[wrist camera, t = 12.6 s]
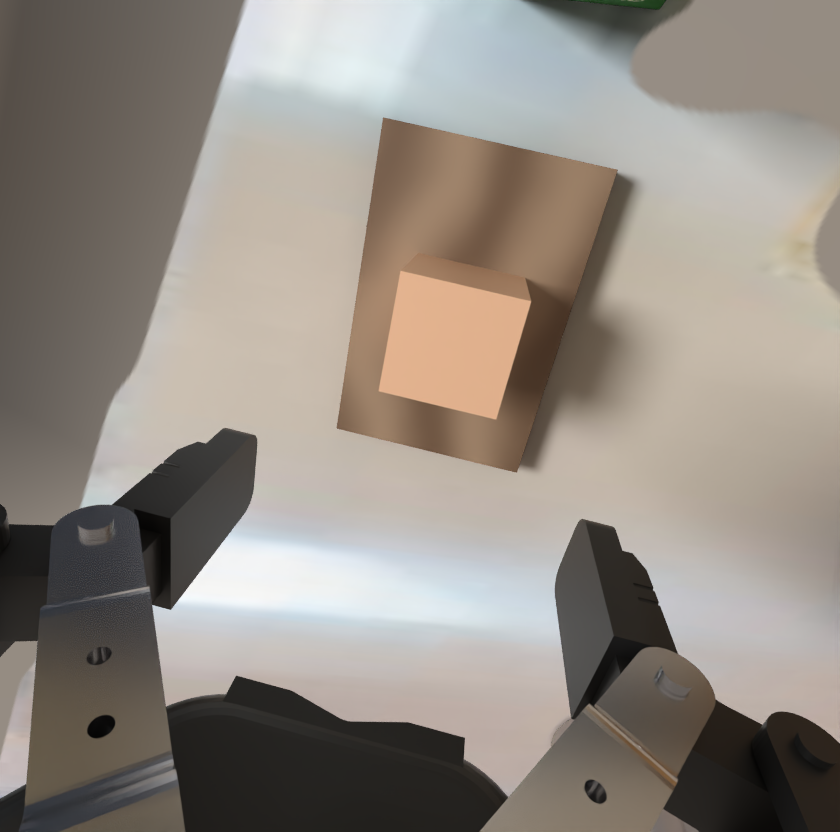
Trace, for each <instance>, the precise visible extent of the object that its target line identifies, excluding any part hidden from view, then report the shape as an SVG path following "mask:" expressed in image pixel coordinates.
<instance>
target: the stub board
mask: <svg viewBox="0 0 840 832" xmlns="http://www.w3.org/2000/svg"><path fill="white" fill-rule="evenodd" d="M617 171H618V170H616V169H611V168H607V167H602V166H598V165H593V164H589V163H584V162H580V161H575V160H571V159H567V158H562V157H558V156H553V155H549V154H544V153H540V152H535V151H531V150H526V149H522V148H517V147H513V146H508V145H504V144H499V143H495V142H490V141H486V140H482V139H477V138H473V137H468V136H464V135H459V134H455V133H450V132H446V131H441V130H437V129H432V128H428V127H423V126H419V125H414V124H410V123H405V122H401V121H397V120H392V119H388V118H383V123H382V129H381V136H380V143H379V149H378V156H377V163H376V169H375V176H374V183H373V189H372V196H371V203H370V209H369V216H368V223H367V229H366V236H365V243H364V249H363V256H362V263H361V269H360V276H359V283H358V289H357V296H356V303H355V309H354V316H353V323H352V329H351V336H350V343H349V350H348V356H347V363H346V370H345V376H344V383H343V390H342V396H341V403H340V410H339V416H338V423H337V429H342V430H346V431H350V432H354V433H358V434H362V435H366V436H370V437H374V438H378V439H382V440H386V441H390V442H394V443H399V444H403V445H407V446H411V447H415V448H419V449H423V450H427V451H431V452H435V453H439V454H443V455H447V456H451V457H455V458H460V459H464V460H468V461H472V462H476V463H480V464H484V465H488V466H492V467H496V468H500V469H504V470H508V471H512V472H517V471H518V468H519V465H520V462H521V459H522V456H523V453H524V450H525V447H526V444H527V441H528V438H529V435H530V432H531V429H532V426H533V423H534V420H535V417H536V414H537V411H538V408H539V405H540V402H541V399H542V396H543V393H544V390H545V387H546V384H547V381H548V378H549V375H550V372H551V369H552V366H553V363H554V360H555V357H556V354H557V351H558V348H559V345H560V342H561V339H562V336H563V333H564V330H565V327H566V324H567V321H568V318H569V315H570V312H571V309H572V306H573V303H574V300H575V297H576V294H577V291H578V288H579V285H580V282H581V279H582V276H583V273H584V270H585V267H586V264H587V261H588V258H589V255H590V252H591V249H592V246H593V243H594V240H595V237H596V234H597V231H598V228H599V225H600V222H601V219H602V216H603V213H604V210H605V207H606V204H607V201H608V198H609V195H610V192H611V189H612V186H613V183H614V180H615V177H616V174H617ZM418 253H421V254H425V255H430V256H434V257H438V258H443V259H447V260H451V261H455V262H460V263H464V264H468V265H473V266H477V267H481V268H486V269H490V270H494V271H499V272H503V273H507V274H511V275H516V276H520V277H524V278H525V279H526V283H527V287H528V291H529V294H530V298H531V304H530V308H529V311H528V314H527V318H526V321H525V324H524V328H523V331H522V334H521V338H520V341H519V345H518V348H517V351H516V355H515V358H514V361H513V365H512V368H511V371H510V375H509V378H508V381H507V385H506V388H505V392H504V395H503V398H502V402H501V405H500V408H499V412H498V415H497V418H496V420H495V419H491V418H487V417H483V416H479V415H475V414H471V413H467V412H462V411H458V410H454V409H450V408H446V407H442V406H438V405H434V404H429V403H425V402H421V401H417V400H413V399H409V398H405V397H401V396H396V395H392V394H388V393H384V392H380V391H379V386H380V380H381V375H382V369H383V364H384V358H385V353H386V347H387V342H388V336H389V331H390V325H391V320H392V315H393V309H394V304H395V298H396V293H397V287H398V282H399V276H400V271H401V270H402V269H403V268H404V267H405V266H406V265H407V264H408V263H409V262H410V261H411V260H412V259H413V258H414V257H415V256H416V255H417V254H418Z"/></svg>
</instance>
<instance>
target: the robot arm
mask: <svg viewBox="0 0 840 832" xmlns="http://www.w3.org/2000/svg"><path fill="white" fill-rule="evenodd" d="M256 453H257V438H256V436H255V435H252V434H248V433H244V432H240V431H236V430H232V429H228V428H224V429H222V430H221V431H220V432H219V433H217V434H216V435H215V436H214V437H213V438H212V439H211V440H210V441H209V442H207V443H206V444H205V443H201V442H196V443H193V444H191V445H188V446H186V447H183V448H181V449H178V450H177V451H176V452H174V453H173V454H172V455H171V456H170V457H168V458H167V459H166V460H165V461H164V463H163V464H160V465H159V466H158V467H156V468H155V469H154V470H153V472H152V474H151V473H149V474H148V475H147V476H146V477H145V478H143V479H142V480H141V481H140V482H139V483H137V484H136V485H135V486H134V487H133V488H131V489H130V490H129V491H128V492H127V493H125V494H124V495H123V496H122V497H121V498H120V499H118V500H117V501H116V502H115V503H114V504H112V505H94V506H88V507H84V508H80V509H78V510H75V511H73V512H71V513H68V514H67V515H65V516H64V517H62V518H61V519H60V520H59V521H58V522H57V523H56V524H55V525H53V526H52V525H14V524H8V518H7V513H6V510H5V508H4V507H3V506H2V505H1V504H0V657H1V655H2V654H3V653H4V652H5V651H6V650H7V649H8V648H9V647H10V646H11V645H12V644H13V643H14V642H15V641H38V642H37V654H36V667H35V680H34V692H33V705H32V718H31V731H30V743H29V756H28V769H27V782H26V784H25V785H24V786H22V787H20V788H18V789H17V790H15V791H13V792H11V793H9V794H8V795H6V796H4V797H2V798H1V799H0V832H840V743H839V742H837V741H836V740H835V739H834V738H833V737H832V736H831V735H830V734H829V733H827V732H826V731H825V730H823V729H822V728H821V727H819V726H818V725H816V724H815V723H813V722H811V721H810V720H808V719H806V718H803V717H801V716H799V715H796V714H793V713H789V712H776V713H773V714H771V715H770V716H769V717H768V719H767V720H766V721H765V723H764V724H763V725H762V724H760V723H758V722H756V721H754V720H752V719H750V718H748V717H746V716H744V715H742V714H740V713H739V712H737V711H735V710H733V709H731V708H729V707H727V706H725V705H724V704H722V703H720V702H718V701H717V700H716V699H715V694H714V691H713V689H712V687H711V685H710V683H709V681H708V680H707V679H706V677H705V676H704V675H703V674H702V672H701V671H700V670H699V669H698V668H697V667H696V666H694V665H693V664H692V663H691V662H690V661H688V660H687V659H685V658H684V657H682V656H680V655H679V654H678V653H677V650H676V647H675V645H674V642H673V639H672V637H671V634H670V631H669V629H668V626H667V623H666V621H665V618H664V615H663V613H662V610H661V607H660V606H658V603H659V602H658V599H657V597H656V594H655V591H653V586H652V583H651V581H650V578H649V575H648V573H647V570H646V569H645V568H644V567H643V566H642V564H641V563H640V562H639V561H638V560H637V558H636V557H635V556H634V555H633V554H632V553H629V552H625V551H622V548H621V545H620V542H619V539H618V536H617V533H616V530H615V528H614V527H612V526H608V525H604V524H600V523H596V522H592V521H588V520H584V519H581V520H580V521H579V522H578V524H577V526H576V528H575V530H574V533H573V535H572V538H571V540H570V542H569V545H568V547H567V550H566V552H565V554H564V557H563V559H562V562H561V564H560V567H559V569H558V572H557V577H556V582H555V599H556V606H557V614H558V622H559V629H560V637H561V644H562V652H563V659H564V667H565V675H566V682H567V690H568V697H569V705H570V713H571V720H569V721H567V722H565V723H564V724H563V725H562V726H561V727H559V728H558V730H557V731H556V732H555V734H554V736H553V739H552V742H551V748H550V749H549V751H548V752H547V753H546V754H545V755H544V756H543V758H542V759H541V760H540V761H539V762H538V763H537V765H536V766H535V767H534V768H533V769H532V770H531V772H530V773H529V774H528V775H527V776H526V778H525V779H524V780H523V781H522V782H521V783H520V785H519V786H518V787H517V788H516V789H515V790H514V792H513V793H512V794H511V795H510V796H509V798H508V796H507V795H506V794H505V793H504V792H503V791H502V790H501V789H500V787H499V786H498V785H497V784H496V783H495V782H494V781H493V780H492V779H490V778H489V777H488V776H487V775H486V774H485V773H484V772H482V771H481V770H480V769H478V768H477V767H475V766H474V765H473V764H471V763H469V762H468V761H466V760H464V743H465V738H463V737H459V736H456V735H452V734H448V733H445V732H441V731H437V730H434V729H430V728H426V727H423V726H419V725H415V724H412V723H408V722H350V721H345V720H342V719H340V718H338V717H336V716H335V715H333V714H331V713H329V712H328V711H326V710H324V709H322V708H321V707H319V706H317V705H315V704H314V703H312V702H310V701H309V700H307V699H305V698H303V697H302V696H300V695H298V694H296V693H295V692H293V691H290V690H287V689H283V688H279V687H276V686H272V685H268V684H265V683H261V682H257V681H254V680H250V679H246V678H243V677H239V676H236V677H235V679H234V681H233V683H232V685H231V687H230V688H229V690H228V692H227V694H216V695H206V696H200V697H195V698H190V699H186V700H183V701H180V702H177V703H174V704H171V705H169V706H167V707H166V704H165V696H164V689H163V682H162V674H161V667H160V660H159V652H158V645H157V637H156V630H155V623H154V615H153V608H152V605H155V606H159V607H162V608H166V609H170V610H171V609H172V608H173V606H174V605H175V604H176V602H177V601H178V600H179V598H180V597H181V596H182V594H183V593H184V592H185V591H186V589H187V588H188V587H189V585H190V584H191V583H192V581H193V580H194V579H195V577H196V576H197V575H198V574H199V572H200V571H201V570H202V568H203V567H204V566H205V564H206V563H207V562H208V560H209V559H210V558H211V557H212V555H213V554H214V553H215V551H216V550H217V549H218V547H219V546H220V545H221V543H222V542H223V541H224V540H225V538H226V537H227V536H228V534H229V533H230V532H231V530H232V529H233V528H234V526H235V525H236V524H237V523H238V521H239V520H240V519H241V517H242V516H243V515H244V513H245V512H246V510H247V508H248V506H249V504H250V501H251V498H252V494H253V489H254V478H255V466H256Z"/></svg>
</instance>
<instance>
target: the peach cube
mask: <svg viewBox="0 0 840 832" xmlns="http://www.w3.org/2000/svg"><path fill="white" fill-rule="evenodd" d="M530 304H531V298H530V294H529V291H528V287H527V283H526V279H525V278H524V277H520V276H516V275H511V274H507V273H503V272H499V271H494V270H490V269H486V268H481V267H477V266H473V265H468V264H464V263H460V262H455V261H451V260H447V259H443V258H438V257H434V256H430V255H425V254H421V253H418V254H417V255H416V256H415V257H414V258H413V259H412V260H411V261H410V262H409V263H408V264H407V265H406V266H405V267H404V268H403V269H402V270H401V271H400V276H399V282H398V287H397V293H396V298H395V304H394V309H393V315H392V320H391V325H390V331H389V336H388V342H387V347H386V353H385V358H384V364H383V369H382V375H381V380H380V386H379V391H380V392H384V393H388V394H392V395H396V396H401V397H405V398H409V399H413V400H417V401H421V402H425V403H429V404H434V405H438V406H442V407H446V408H450V409H454V410H458V411H462V412H467V413H471V414H475V415H479V416H483V417H487V418H491V419H495V420H496V418H497V415H498V412H499V408H500V405H501V402H502V398H503V395H504V392H505V388H506V385H507V381H508V378H509V375H510V371H511V368H512V365H513V361H514V358H515V355H516V351H517V348H518V345H519V341H520V338H521V334H522V331H523V328H524V324H525V321H526V318H527V314H528V311H529V308H530Z"/></svg>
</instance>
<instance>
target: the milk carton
mask: <svg viewBox="0 0 840 832" xmlns="http://www.w3.org/2000/svg"><path fill="white" fill-rule="evenodd" d="M570 1H580V2H590V3H599V4H609V5H619V6H628V7H638V8H648V9H657V10H659V9H660V8H661V6H662V5H663V4H664V2H665V1H666V0H570Z"/></svg>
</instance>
